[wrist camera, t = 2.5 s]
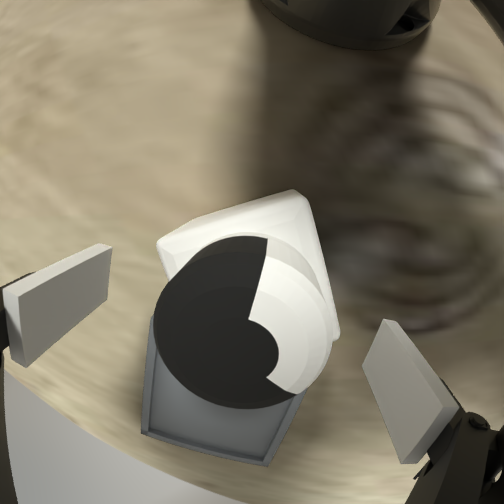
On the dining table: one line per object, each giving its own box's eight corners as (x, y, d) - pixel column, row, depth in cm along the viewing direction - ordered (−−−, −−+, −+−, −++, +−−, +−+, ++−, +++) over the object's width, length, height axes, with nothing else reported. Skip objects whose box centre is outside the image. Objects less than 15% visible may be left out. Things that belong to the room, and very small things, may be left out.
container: (224, 315, 24) (180, 439, 11) (191, 219, 22) (96, 274, 10) (323, 289, 23) (366, 407, 10) (296, 187, 21) (326, 206, 9)
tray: (156, 311, 24) (150, 317, 23) (317, 354, 24) (319, 362, 23) (144, 426, 28) (140, 433, 27) (268, 458, 28) (267, 466, 27)
